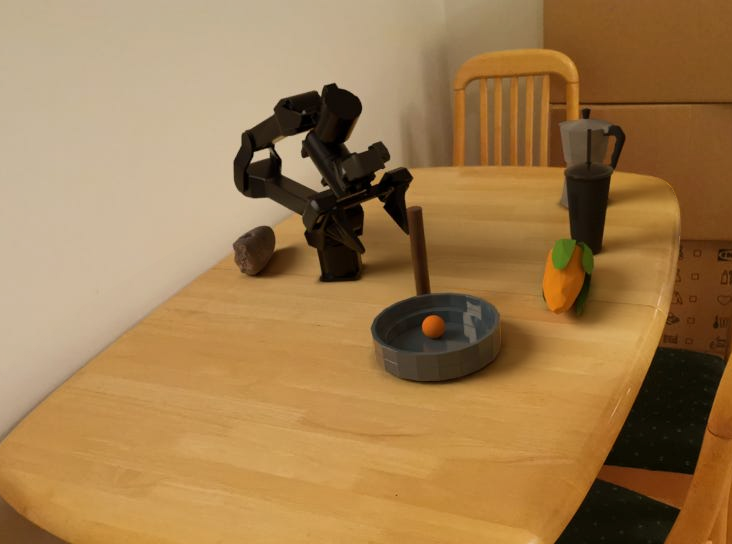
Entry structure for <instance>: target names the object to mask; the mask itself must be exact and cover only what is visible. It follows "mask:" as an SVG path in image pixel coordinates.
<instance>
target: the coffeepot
mask: <svg viewBox="0 0 732 544" xmlns="http://www.w3.org/2000/svg"><path fill="white" fill-rule="evenodd" d="M591 111H592V110H591V108H588V107H584V108H583V109H581V115H582V118H579V119H573V120H567V121H562V122H560V123H557V126H558V127H559V130H560V137H561V143H562V145H561V146H562V151H563V157H564V162H565V163H567V165H566V169H567V168H568V167H571V166H573V165H575V164H577V163H580V162H585V161H587V129H592V135H591V161H596V162H601V163H603V164H604V160H605V159H606V157H607V152H608V148H609V142H610V137H611V136H612V137H613V136H614V137H615V141H614V146H613V150H612V151H613V152H612V153H611V156H610V164H608V165H609V166H611V167H612V168H613V171H615V170H616V168H617V165H618V162H619V159H620V156H621V154H622V151H623V148H624V146H625V142H626V139H627V136H626V133H625V131H624V130H623V129H622V127H621V126H620V125H617V124H613V122H611V121H608V120H605V119H603V118H593V117H590V114H591ZM608 201H609V196H608ZM560 204H561V205H562V206H563V207H564V208H566V209H568V198H567V186H566V177H565V176H564V179H563V185H562V190H561V197H560Z"/></svg>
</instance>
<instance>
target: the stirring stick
mask: <svg viewBox="0 0 732 544" xmlns="http://www.w3.org/2000/svg"><path fill="white" fill-rule="evenodd" d="M406 208H407V209H406V211H407V219H408V228H409V235H408V236H409V243H410V244H409V245H410V251H411V259H412V260H411V261H412V269H413V277H414V284H415V293H416V296H419V295H425V294H430V293H432V290H431V281H430V280H431V279H430V270H429V262H428V251H427V243H426V234H425V233H426V232H425V225H424V216H423V215H424V214H423V207H422V206H421V205H420V206H419V205H412V206H408V207H406Z"/></svg>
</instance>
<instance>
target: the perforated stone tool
mask: <svg viewBox="0 0 732 544" xmlns="http://www.w3.org/2000/svg"><path fill="white" fill-rule="evenodd" d="M276 240H277V239H276V233H275V231H274V230H273V228H272V227H271V226H270V225H259V226H256V227H253V228H252V229H250V230H249V231H246V232H245V233H243V234H242V235H241V236H239V237H238V238H237V239H236V240H234V242H233V243H232V248H233V251H234V257H233V262H234V264H235V265H236V266H237V267H238V269H239V271H240V273H241V274H245V275H250V276H255V275H256V274H258V273H259V272H261V271H262V270H264V268H265V267H266V266H267V264H268V263H269V262H270V260H271V258H272V256H273V254H274V252H275V249H276V248H275V247H276V243H277V242H276Z"/></svg>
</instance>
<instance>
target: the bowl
mask: <svg viewBox="0 0 732 544" xmlns="http://www.w3.org/2000/svg"><path fill="white" fill-rule="evenodd" d="M432 315H435V316H439V317H440V318H442V319H443V321H444V323H445V331H444V333H443V334H442V335H441V336H440V337H438V338H429V337H427V336H426V335H425V334H424V332H423V330H422V324H423V322H424V320H425V319H426V318H427V317H429V316H432ZM369 328H370V335H371V341H372V346H373V354H374V358H375V362H376V363H377V364H378V365H379V366H380V367H381V368H382V369H383V371H385V372H387V373H389V374H391V375H393V376H395V377H398V378H401V379H405V380H413V381H418V382H427V381H428V382H430V381H431V382H432V381H435V382H436V381H439V382H440V381H445V380H452V379H456V378H462V377H464V376H467V375H469V374H472V373H474V372H477V371H480V370H481V369H483V368H484V367H485V366H487V365H489V364H490V363H491V362H493V361H494V360H495V358H496V357H497V355H498V354H499V352H501V349H502V328H501V314H500V312H499V311H498V309H497V308H496V306H495V304H493V303H491V302H489V301H488V300H486V299H485V298H482V297H480V296H475V295H472V294H469V293H462V292H461V293H460V292H451V291H450V292H431V293H430V294H425V295H419V296H417V295H415V296H411V297H407V298H405V299H402V300H399V301H397V302H396V301H395V303H393V304H391V305H389V306H387V307H386V308H384V309H383V310H382V311H380V312H379V313H378V314H377V315H376V316H375V317H374V318H373V321H372V323H371V326H370V327H369Z"/></svg>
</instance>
